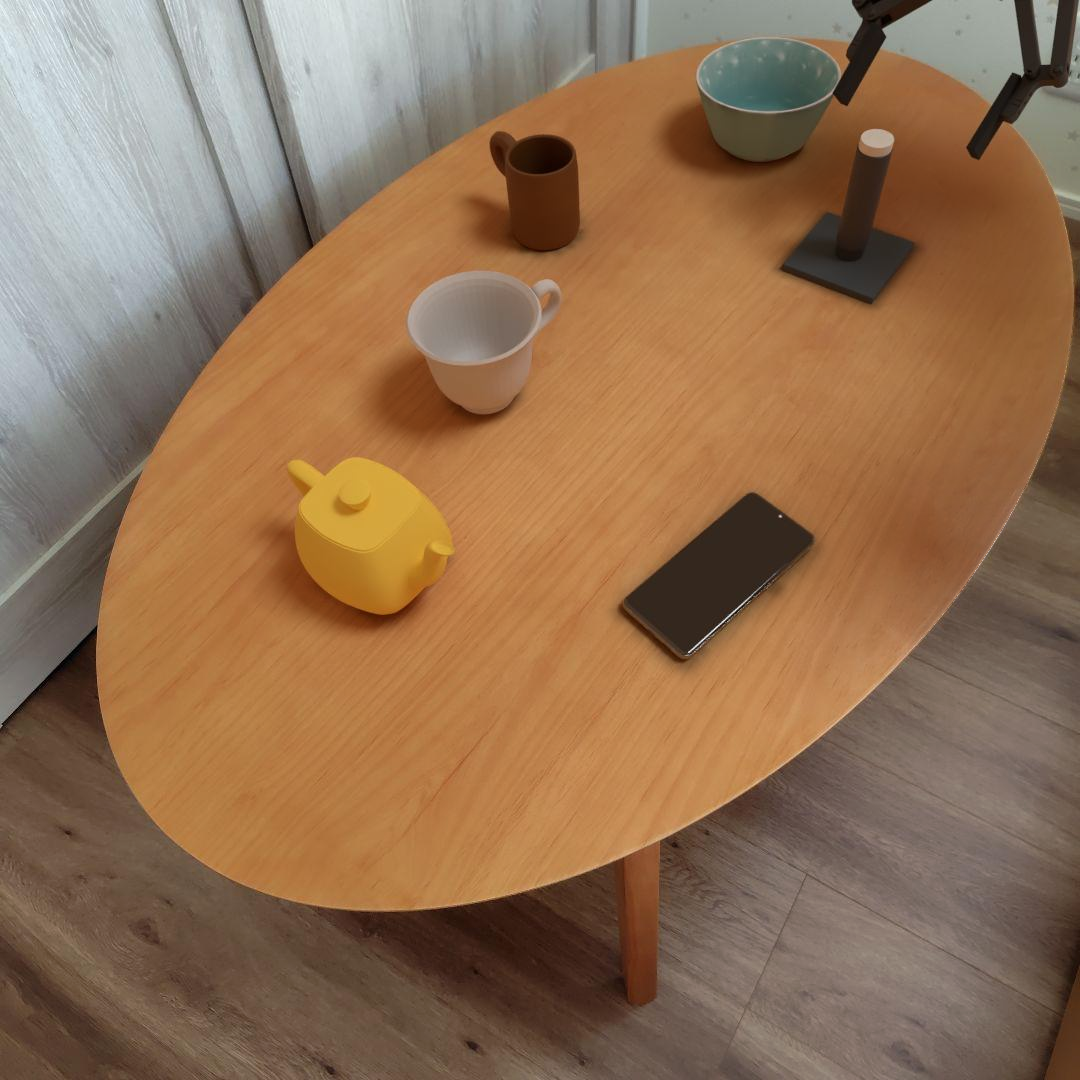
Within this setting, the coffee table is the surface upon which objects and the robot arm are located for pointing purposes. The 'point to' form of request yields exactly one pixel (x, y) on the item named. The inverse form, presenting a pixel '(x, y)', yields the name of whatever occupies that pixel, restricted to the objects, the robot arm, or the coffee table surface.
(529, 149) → the mug
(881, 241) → the pad
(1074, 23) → the robot arm
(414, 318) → the teacup
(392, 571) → the teapot
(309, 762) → the coffee table surface
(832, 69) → the bowl
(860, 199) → the dark grey capped cylinder
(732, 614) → the smartphone
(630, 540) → the coffee table surface
